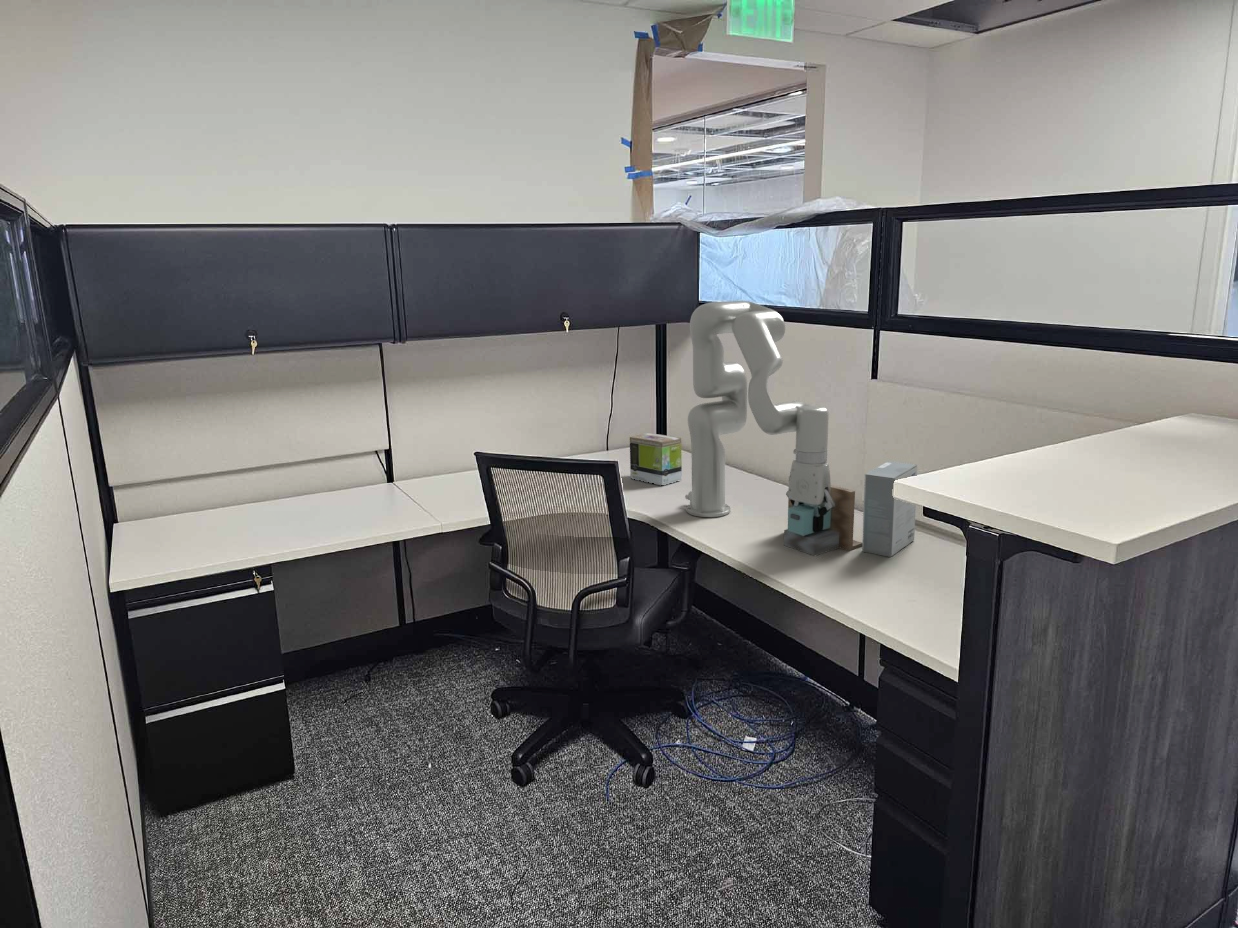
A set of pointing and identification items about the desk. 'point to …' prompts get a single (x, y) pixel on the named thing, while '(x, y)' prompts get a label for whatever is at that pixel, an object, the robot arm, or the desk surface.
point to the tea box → (655, 458)
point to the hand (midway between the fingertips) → (808, 527)
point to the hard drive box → (887, 511)
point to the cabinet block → (804, 519)
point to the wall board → (833, 536)
